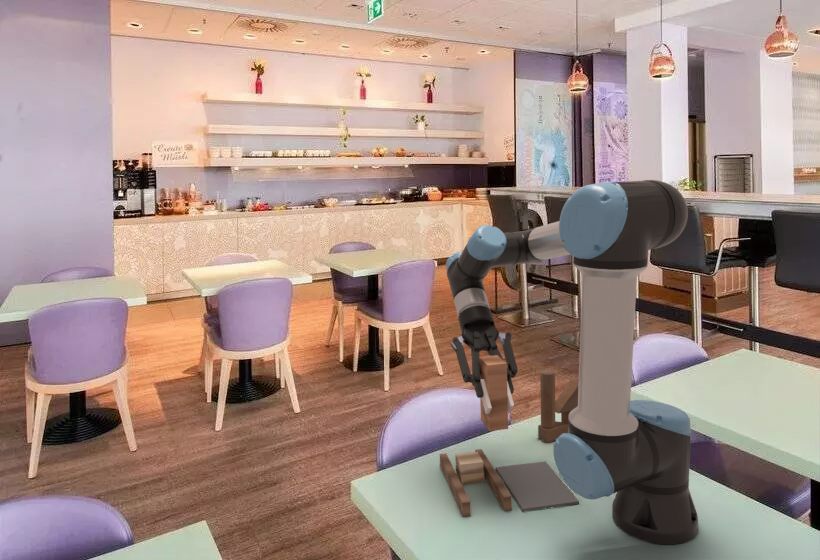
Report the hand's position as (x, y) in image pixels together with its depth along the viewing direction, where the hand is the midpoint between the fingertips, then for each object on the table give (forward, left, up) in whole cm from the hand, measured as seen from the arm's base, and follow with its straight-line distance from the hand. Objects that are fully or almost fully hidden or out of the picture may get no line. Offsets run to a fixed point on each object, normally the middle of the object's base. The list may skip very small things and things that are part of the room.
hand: (499, 409), depth 119 cm
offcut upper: (+11, +4, -18) cm, 21 cm away
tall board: (+4, 0, -5) cm, 6 cm away
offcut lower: (+11, +4, -20) cm, 24 cm away
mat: (+4, -9, -20) cm, 22 cm away
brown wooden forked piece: (+26, -24, -20) cm, 41 cm away
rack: (+7, +4, -20) cm, 22 cm away
